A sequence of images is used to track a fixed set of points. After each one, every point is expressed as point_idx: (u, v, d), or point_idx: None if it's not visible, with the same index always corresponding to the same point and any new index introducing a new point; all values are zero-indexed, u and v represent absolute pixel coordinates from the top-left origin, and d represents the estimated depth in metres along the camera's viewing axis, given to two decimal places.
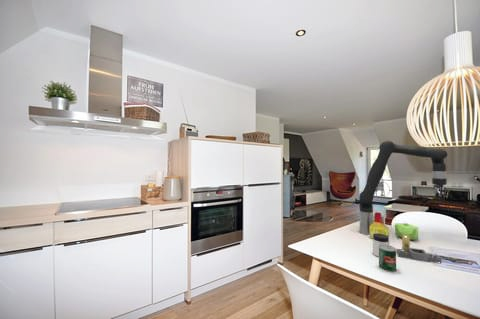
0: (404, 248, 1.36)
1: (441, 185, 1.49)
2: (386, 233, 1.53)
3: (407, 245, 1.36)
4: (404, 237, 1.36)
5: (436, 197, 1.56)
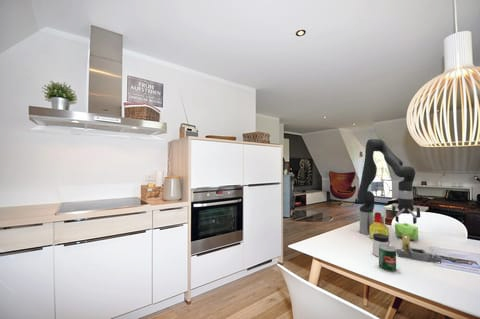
0: (404, 248, 1.36)
1: None
2: (386, 233, 1.53)
3: (407, 245, 1.36)
4: (404, 237, 1.36)
5: None
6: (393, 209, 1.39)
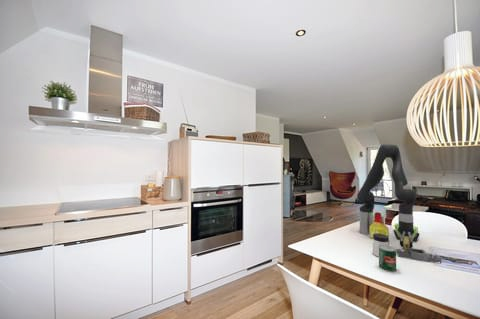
0: (404, 248, 1.36)
1: None
2: (386, 233, 1.53)
3: (407, 245, 1.36)
4: (404, 237, 1.36)
5: (402, 244, 1.38)
6: (395, 234, 1.39)
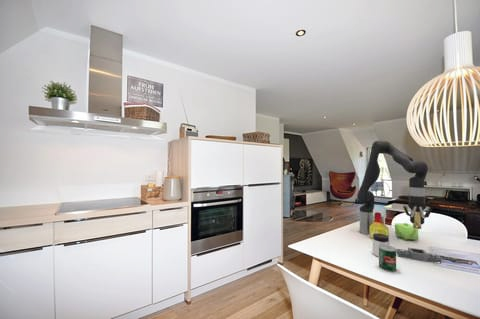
0: (415, 224, 1.28)
1: None
2: (386, 233, 1.53)
3: (418, 221, 1.27)
4: (415, 212, 1.28)
5: None
6: (405, 209, 1.30)
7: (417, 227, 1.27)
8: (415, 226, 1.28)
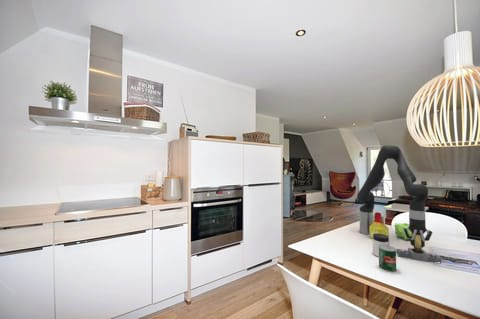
0: (415, 247, 1.27)
1: None
2: (386, 233, 1.53)
3: (419, 244, 1.27)
4: (415, 236, 1.27)
5: None
6: (405, 232, 1.30)
7: (417, 250, 1.27)
8: (415, 249, 1.28)
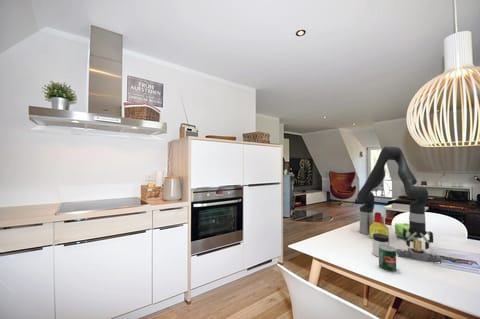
0: None
1: None
2: (386, 233, 1.53)
3: (419, 251, 1.27)
4: (415, 242, 1.28)
5: None
6: (404, 232, 1.30)
7: None
8: None
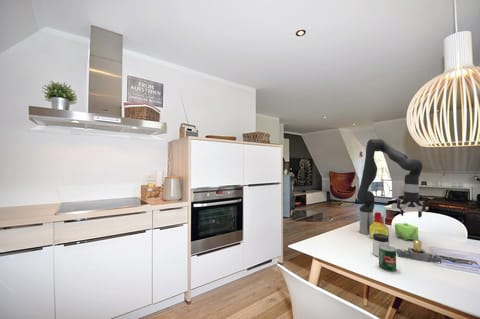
0: None
1: None
2: (386, 233, 1.53)
3: (419, 251, 1.27)
4: (415, 242, 1.28)
5: None
6: (398, 202, 1.38)
7: None
8: None
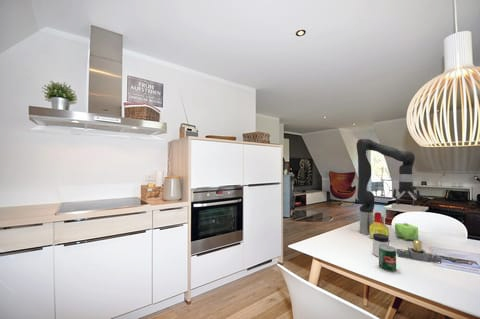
0: None
1: None
2: (386, 233, 1.53)
3: (419, 251, 1.27)
4: (415, 242, 1.28)
5: None
6: (394, 192, 1.46)
7: None
8: None
